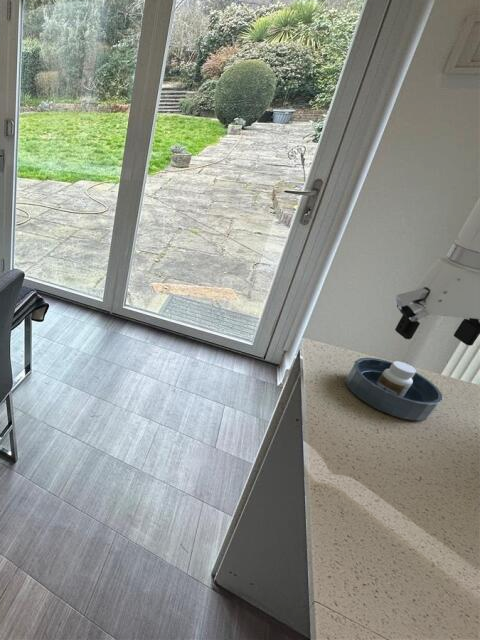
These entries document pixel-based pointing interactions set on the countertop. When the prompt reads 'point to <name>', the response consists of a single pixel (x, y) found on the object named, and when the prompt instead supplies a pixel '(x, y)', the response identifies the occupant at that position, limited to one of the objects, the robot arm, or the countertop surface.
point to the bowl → (411, 406)
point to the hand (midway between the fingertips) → (431, 337)
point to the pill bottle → (397, 378)
